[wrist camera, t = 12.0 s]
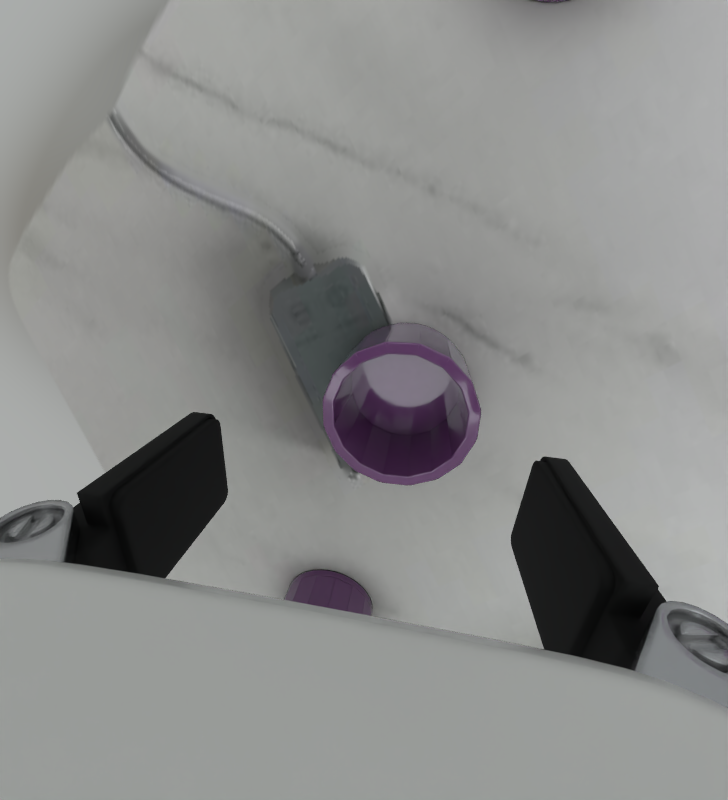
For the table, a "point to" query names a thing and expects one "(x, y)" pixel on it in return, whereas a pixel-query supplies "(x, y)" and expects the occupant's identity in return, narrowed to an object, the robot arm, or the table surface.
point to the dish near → (550, 0)
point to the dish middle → (402, 406)
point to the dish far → (329, 592)
